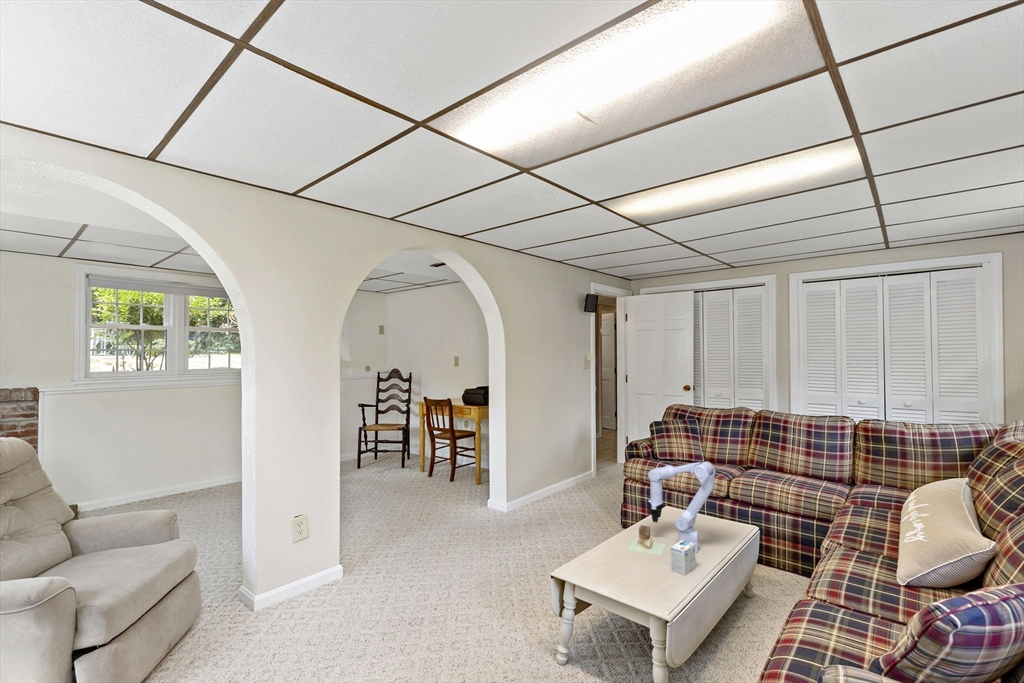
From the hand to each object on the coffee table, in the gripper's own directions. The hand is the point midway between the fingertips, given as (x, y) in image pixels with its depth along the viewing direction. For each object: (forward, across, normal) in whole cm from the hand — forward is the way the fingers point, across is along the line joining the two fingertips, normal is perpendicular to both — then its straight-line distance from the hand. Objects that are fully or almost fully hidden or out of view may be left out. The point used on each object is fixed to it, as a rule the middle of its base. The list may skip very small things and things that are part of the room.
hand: (656, 519), depth 242 cm
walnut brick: (+5, +12, -4) cm, 14 cm away
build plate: (+10, +13, -2) cm, 17 cm away
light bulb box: (+10, +28, +16) cm, 34 cm away
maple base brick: (+9, +12, -4) cm, 16 cm away
